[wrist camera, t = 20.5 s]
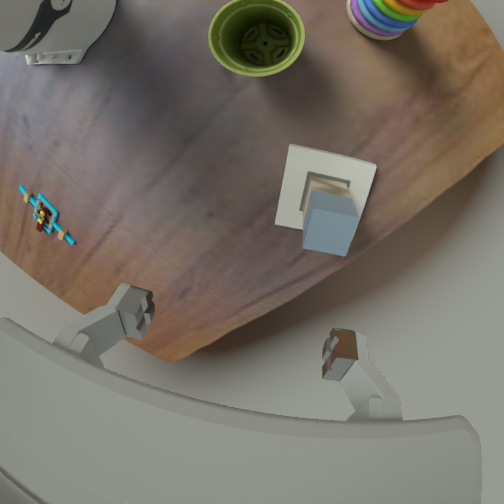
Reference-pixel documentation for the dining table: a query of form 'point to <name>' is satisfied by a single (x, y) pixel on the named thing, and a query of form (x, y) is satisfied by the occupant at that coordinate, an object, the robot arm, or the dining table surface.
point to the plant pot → (256, 36)
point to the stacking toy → (386, 16)
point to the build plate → (323, 166)
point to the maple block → (324, 189)
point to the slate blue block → (329, 223)
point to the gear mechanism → (45, 215)
